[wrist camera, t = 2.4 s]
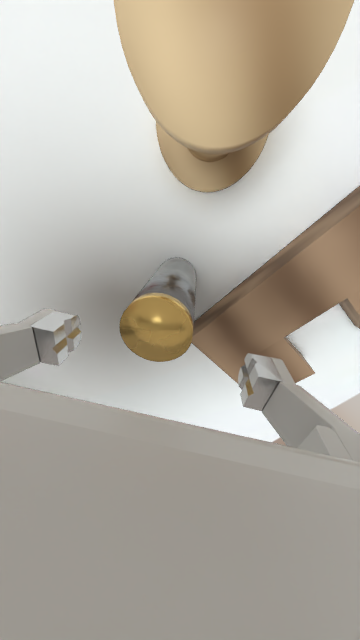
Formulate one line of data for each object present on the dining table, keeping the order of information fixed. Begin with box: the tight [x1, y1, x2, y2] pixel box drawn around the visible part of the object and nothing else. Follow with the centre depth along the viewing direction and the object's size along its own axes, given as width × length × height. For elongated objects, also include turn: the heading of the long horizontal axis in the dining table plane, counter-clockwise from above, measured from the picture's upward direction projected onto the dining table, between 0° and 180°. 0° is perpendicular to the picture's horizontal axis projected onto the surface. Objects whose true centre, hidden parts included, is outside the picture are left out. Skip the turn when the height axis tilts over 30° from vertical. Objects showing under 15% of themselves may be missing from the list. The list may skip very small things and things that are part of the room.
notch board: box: [191, 186, 360, 383], centre depth 19 cm, size 20×12×3 cm, turn 136°
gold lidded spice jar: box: [120, 257, 196, 362], centre depth 15 cm, size 4×4×11 cm
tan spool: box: [114, 0, 354, 192], centre depth 10 cm, size 8×8×10 cm
